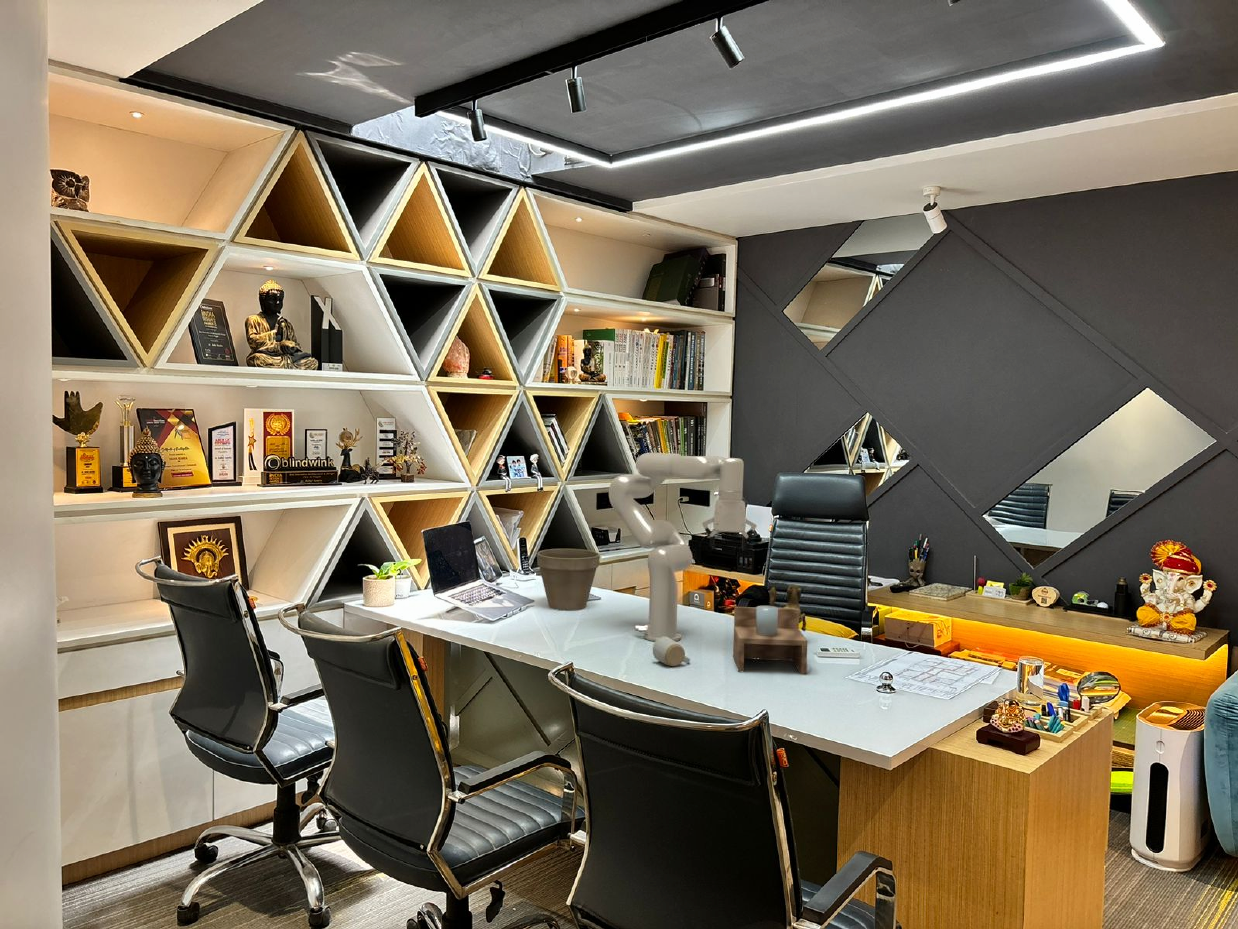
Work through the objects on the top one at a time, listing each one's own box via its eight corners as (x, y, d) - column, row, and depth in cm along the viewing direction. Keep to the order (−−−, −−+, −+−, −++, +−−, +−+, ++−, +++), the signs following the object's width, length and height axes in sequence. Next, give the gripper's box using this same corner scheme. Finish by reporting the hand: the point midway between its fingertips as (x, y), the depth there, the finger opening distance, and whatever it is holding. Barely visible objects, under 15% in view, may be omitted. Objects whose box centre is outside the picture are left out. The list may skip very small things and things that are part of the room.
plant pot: (587, 616, 343) (588, 558, 342) (526, 610, 350) (527, 554, 349) (606, 604, 367) (607, 550, 366) (549, 599, 374) (550, 547, 373)
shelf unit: (738, 671, 268) (740, 618, 268) (733, 657, 286) (734, 606, 285) (806, 674, 267) (808, 620, 267) (796, 659, 285) (798, 608, 284)
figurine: (816, 642, 309) (818, 583, 308) (773, 653, 292) (775, 591, 291) (785, 635, 318) (787, 578, 318) (741, 646, 301) (743, 585, 300)
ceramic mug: (665, 668, 270) (666, 643, 269) (651, 662, 277) (652, 637, 277) (695, 666, 274) (696, 640, 274) (681, 659, 282) (682, 635, 281)
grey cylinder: (754, 631, 278) (755, 605, 278) (776, 631, 278) (776, 605, 277) (757, 636, 271) (757, 609, 271) (778, 636, 271) (779, 610, 271)
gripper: (704, 496, 288) (701, 550, 288) (758, 498, 287) (756, 552, 288) (702, 494, 295) (700, 546, 296) (756, 496, 294) (753, 549, 295)
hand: (728, 549), depth 292 cm, fingers open, 9 cm apart
